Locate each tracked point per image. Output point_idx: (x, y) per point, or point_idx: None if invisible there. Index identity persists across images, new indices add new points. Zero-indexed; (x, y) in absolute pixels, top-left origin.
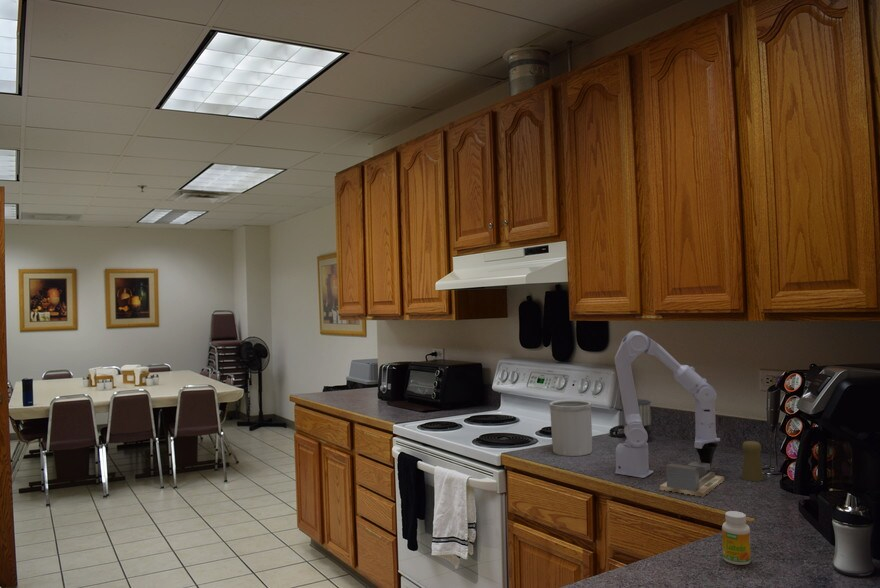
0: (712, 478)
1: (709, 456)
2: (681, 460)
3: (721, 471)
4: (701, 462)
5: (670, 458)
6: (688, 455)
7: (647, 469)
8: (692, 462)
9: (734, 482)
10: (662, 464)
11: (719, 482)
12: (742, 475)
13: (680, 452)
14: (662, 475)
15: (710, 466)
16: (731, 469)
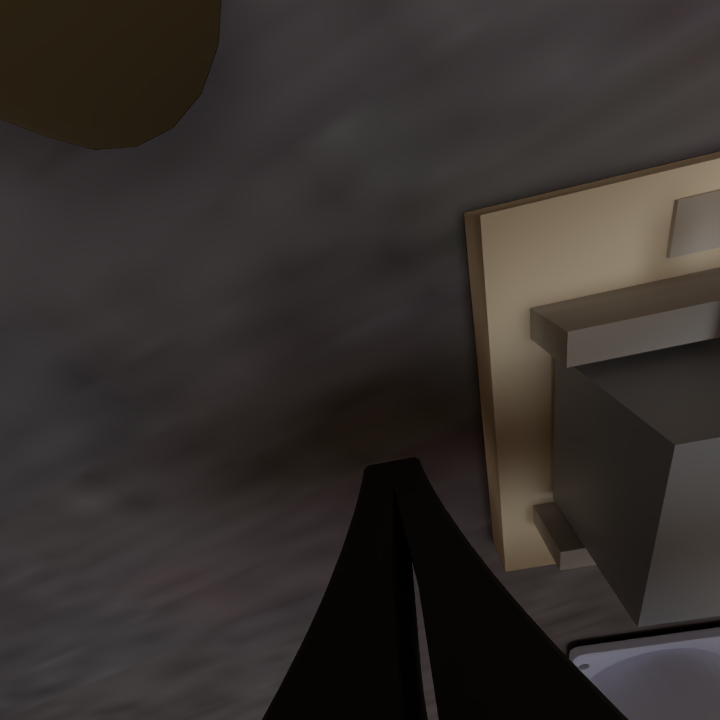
0: (649, 279)
1: (516, 608)
2: (176, 676)
3: (158, 415)
4: (659, 548)
5: (198, 713)
6: (41, 699)
7: (692, 684)
8: (715, 606)
9: (449, 70)
10: None
11: (684, 163)
12: (175, 75)
13: None
14: (600, 597)
15: (382, 470)
16: (5, 390)
